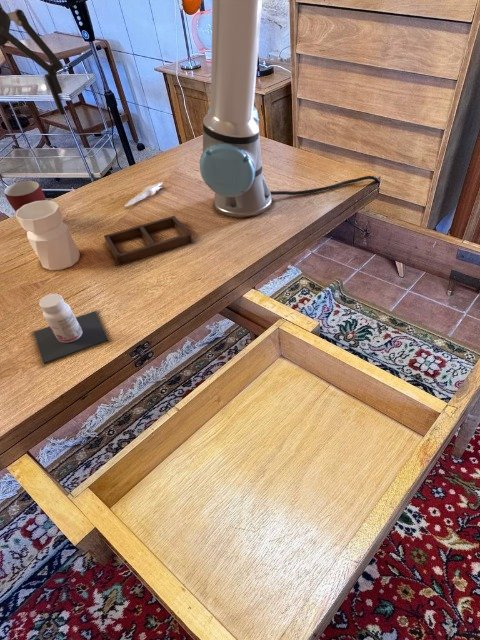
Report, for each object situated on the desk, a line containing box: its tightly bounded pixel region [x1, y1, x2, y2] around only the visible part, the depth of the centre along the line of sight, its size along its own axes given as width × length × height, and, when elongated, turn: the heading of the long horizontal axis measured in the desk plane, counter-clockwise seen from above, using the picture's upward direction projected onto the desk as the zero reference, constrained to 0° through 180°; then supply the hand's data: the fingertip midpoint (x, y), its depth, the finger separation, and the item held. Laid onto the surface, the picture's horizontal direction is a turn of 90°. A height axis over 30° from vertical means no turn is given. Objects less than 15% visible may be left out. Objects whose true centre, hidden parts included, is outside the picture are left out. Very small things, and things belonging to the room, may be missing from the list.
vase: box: [15, 199, 81, 271], centre depth 99 cm, size 9×9×12 cm
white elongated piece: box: [124, 181, 163, 207], centre depth 122 cm, size 15×3×2 cm, turn 149°
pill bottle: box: [38, 293, 82, 343], centre depth 82 cm, size 5×5×8 cm
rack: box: [103, 215, 193, 266], centre depth 107 cm, size 18×11×2 cm, turn 121°
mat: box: [33, 310, 110, 365], centre depth 86 cm, size 12×10×1 cm
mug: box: [3, 180, 47, 213], centre depth 109 cm, size 11×8×10 cm
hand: (28, 120), depth 90 cm, fingers open, 13 cm apart
